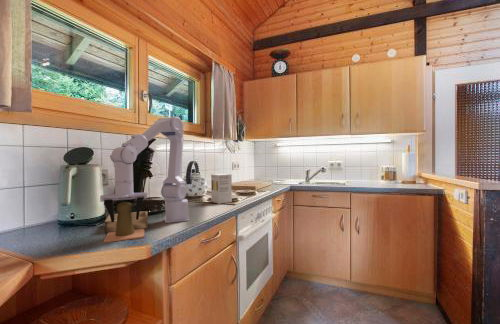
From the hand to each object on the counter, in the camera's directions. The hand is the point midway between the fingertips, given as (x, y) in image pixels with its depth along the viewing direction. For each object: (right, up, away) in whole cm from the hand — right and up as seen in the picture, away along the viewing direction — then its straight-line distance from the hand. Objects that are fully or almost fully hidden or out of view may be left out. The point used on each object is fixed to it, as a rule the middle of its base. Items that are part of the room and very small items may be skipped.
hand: (125, 220), depth 88 cm
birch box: (-5, -5, +13) cm, 15 cm away
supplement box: (+26, -4, +64) cm, 70 cm away
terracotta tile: (0, -5, 0) cm, 5 cm away
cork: (-1, -5, +1) cm, 5 cm away
